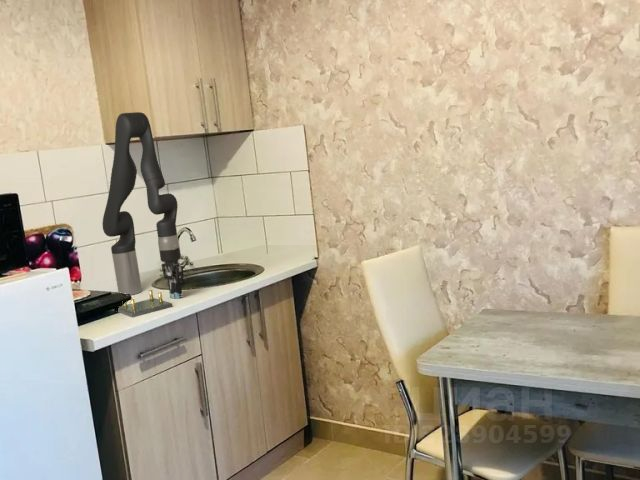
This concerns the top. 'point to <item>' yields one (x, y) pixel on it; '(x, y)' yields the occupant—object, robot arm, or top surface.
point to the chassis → (144, 306)
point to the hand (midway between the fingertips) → (175, 291)
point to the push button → (173, 287)
